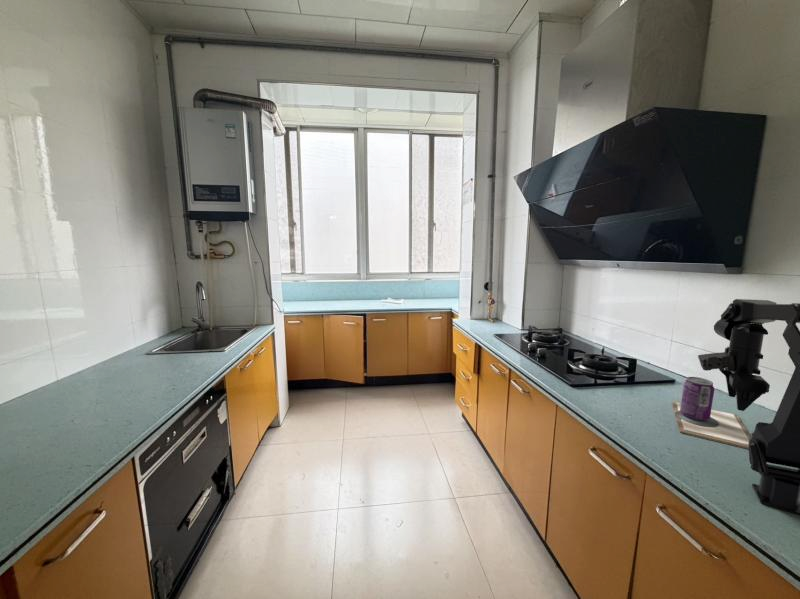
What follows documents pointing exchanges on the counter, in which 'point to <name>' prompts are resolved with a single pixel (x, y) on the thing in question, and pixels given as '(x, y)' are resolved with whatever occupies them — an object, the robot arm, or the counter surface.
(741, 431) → the wooden tray
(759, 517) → the counter surface
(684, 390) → the beverage can
